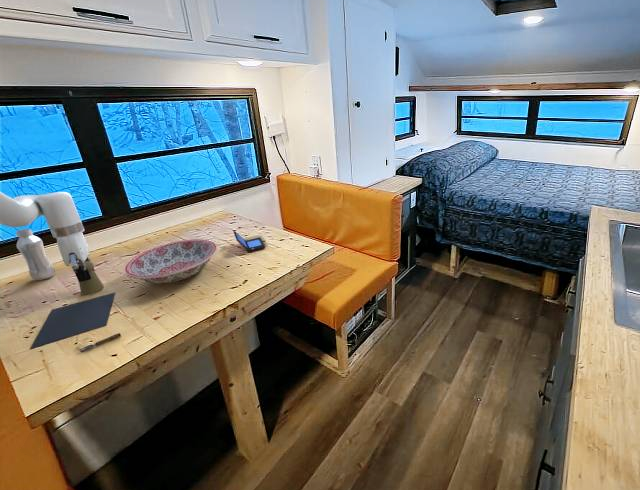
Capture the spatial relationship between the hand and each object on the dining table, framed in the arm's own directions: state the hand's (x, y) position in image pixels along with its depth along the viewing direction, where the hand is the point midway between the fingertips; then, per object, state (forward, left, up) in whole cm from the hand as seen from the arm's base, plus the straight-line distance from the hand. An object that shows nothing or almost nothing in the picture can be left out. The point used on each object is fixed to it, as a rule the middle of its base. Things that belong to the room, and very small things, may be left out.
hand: (87, 275), depth 107 cm
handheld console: (+54, +2, -6) cm, 54 cm away
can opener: (+7, -36, -6) cm, 37 cm away
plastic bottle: (-17, +22, -6) cm, 28 cm away
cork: (0, 0, -6) cm, 6 cm away
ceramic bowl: (+26, -6, -6) cm, 27 cm away
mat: (-1, -17, -6) cm, 18 cm away
